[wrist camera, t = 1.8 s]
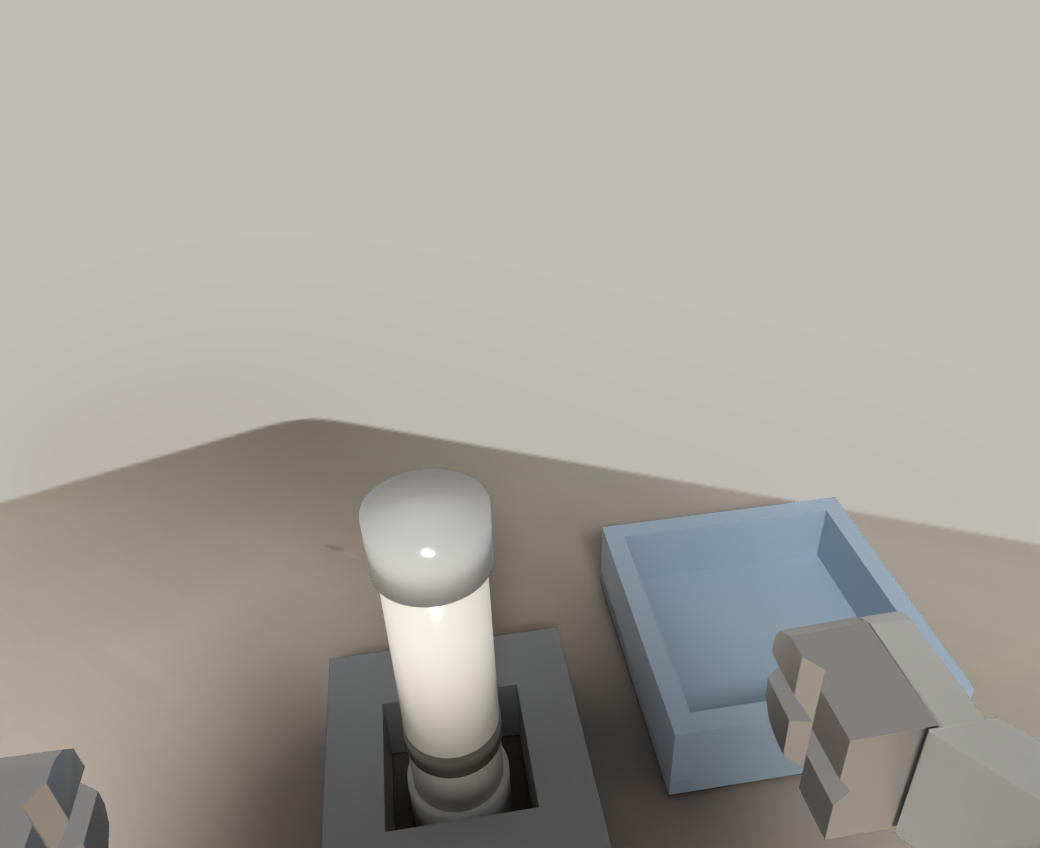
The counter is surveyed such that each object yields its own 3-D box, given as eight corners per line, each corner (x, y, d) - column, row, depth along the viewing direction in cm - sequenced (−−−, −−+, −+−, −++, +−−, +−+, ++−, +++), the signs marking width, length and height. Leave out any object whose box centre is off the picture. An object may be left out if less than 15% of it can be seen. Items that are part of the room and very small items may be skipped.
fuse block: (334, 971, 27) (318, 923, 25) (341, 708, 35) (329, 658, 33) (614, 921, 28) (617, 872, 26) (557, 676, 36) (556, 626, 34)
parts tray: (668, 794, 31) (675, 735, 29) (600, 583, 40) (602, 526, 38) (950, 749, 32) (974, 689, 30) (822, 553, 41) (834, 497, 39)
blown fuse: (415, 858, 30) (358, 560, 22) (411, 767, 33) (359, 476, 25) (518, 841, 30) (498, 543, 22) (504, 752, 33) (482, 461, 25)
